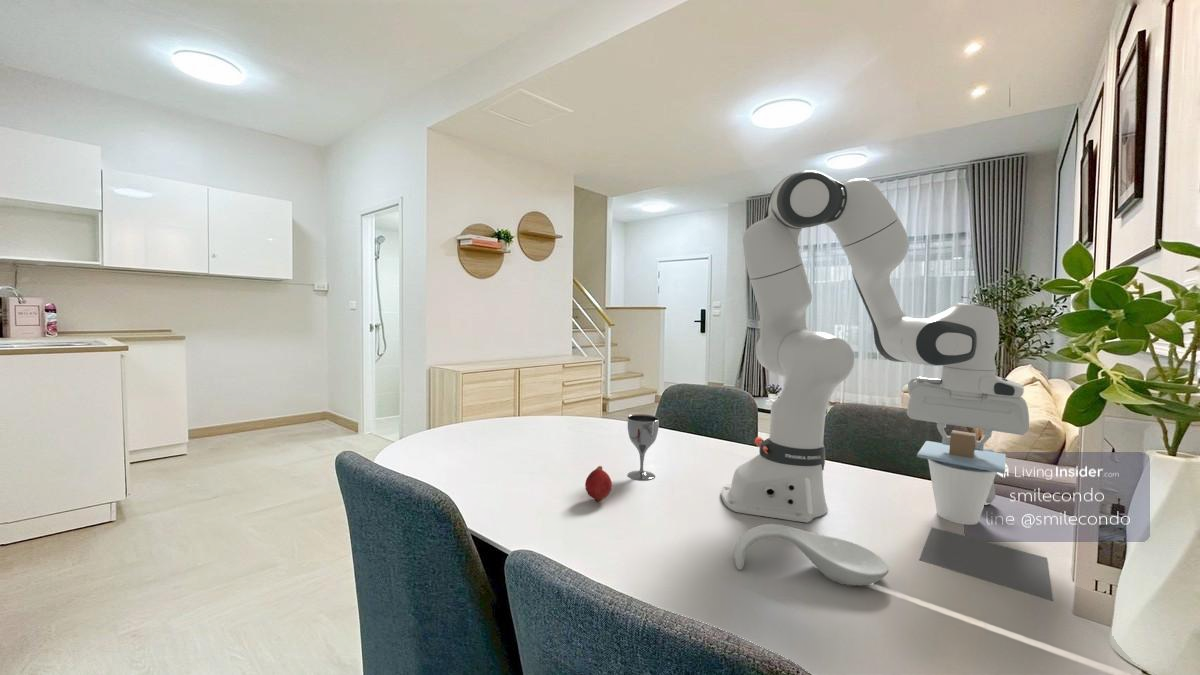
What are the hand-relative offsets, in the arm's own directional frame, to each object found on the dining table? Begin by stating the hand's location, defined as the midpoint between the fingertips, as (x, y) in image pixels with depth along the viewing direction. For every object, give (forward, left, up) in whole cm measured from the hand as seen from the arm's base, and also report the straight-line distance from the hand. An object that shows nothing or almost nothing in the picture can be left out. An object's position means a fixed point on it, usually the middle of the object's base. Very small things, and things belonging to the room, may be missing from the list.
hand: (962, 447), depth 101 cm
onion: (-76, -4, -16) cm, 78 cm away
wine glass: (-67, +14, -16) cm, 70 cm away
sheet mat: (-6, -18, -16) cm, 25 cm away
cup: (0, 0, -16) cm, 16 cm away
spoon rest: (-38, -26, -16) cm, 49 cm away
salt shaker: (+11, +11, -16) cm, 22 cm away
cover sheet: (0, 0, -2) cm, 2 cm away
